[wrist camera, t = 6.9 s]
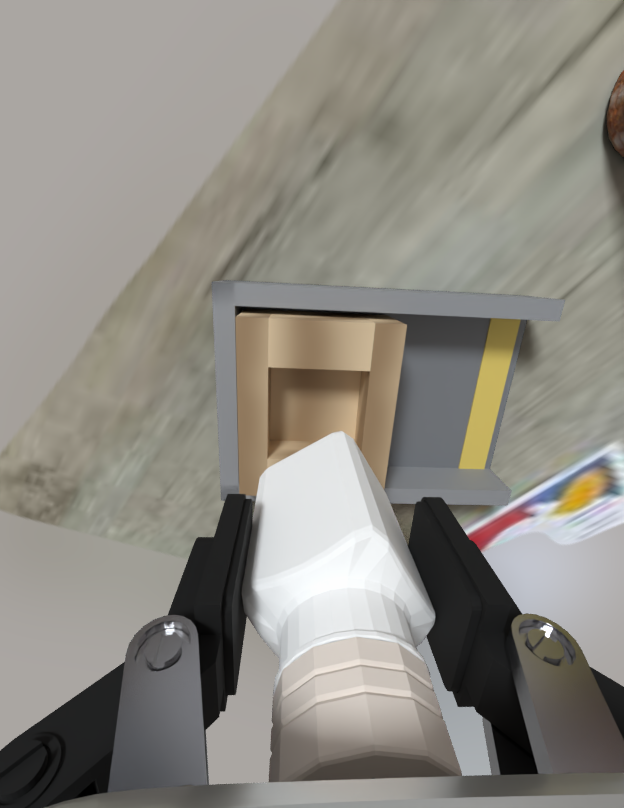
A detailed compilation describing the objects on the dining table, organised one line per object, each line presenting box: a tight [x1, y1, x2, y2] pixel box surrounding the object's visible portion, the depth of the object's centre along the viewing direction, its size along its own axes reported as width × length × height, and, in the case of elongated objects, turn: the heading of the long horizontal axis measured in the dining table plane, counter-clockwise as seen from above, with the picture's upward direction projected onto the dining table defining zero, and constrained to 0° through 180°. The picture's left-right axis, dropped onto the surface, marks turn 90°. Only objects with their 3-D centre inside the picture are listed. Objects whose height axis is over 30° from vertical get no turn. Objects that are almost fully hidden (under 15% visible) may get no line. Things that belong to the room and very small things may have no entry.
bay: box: [212, 280, 565, 505], centre depth 24 cm, size 20×14×4 cm
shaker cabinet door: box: [235, 309, 407, 496], centre depth 23 cm, size 9×11×4 cm
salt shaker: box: [242, 431, 462, 782], centre depth 10 cm, size 4×4×10 cm
